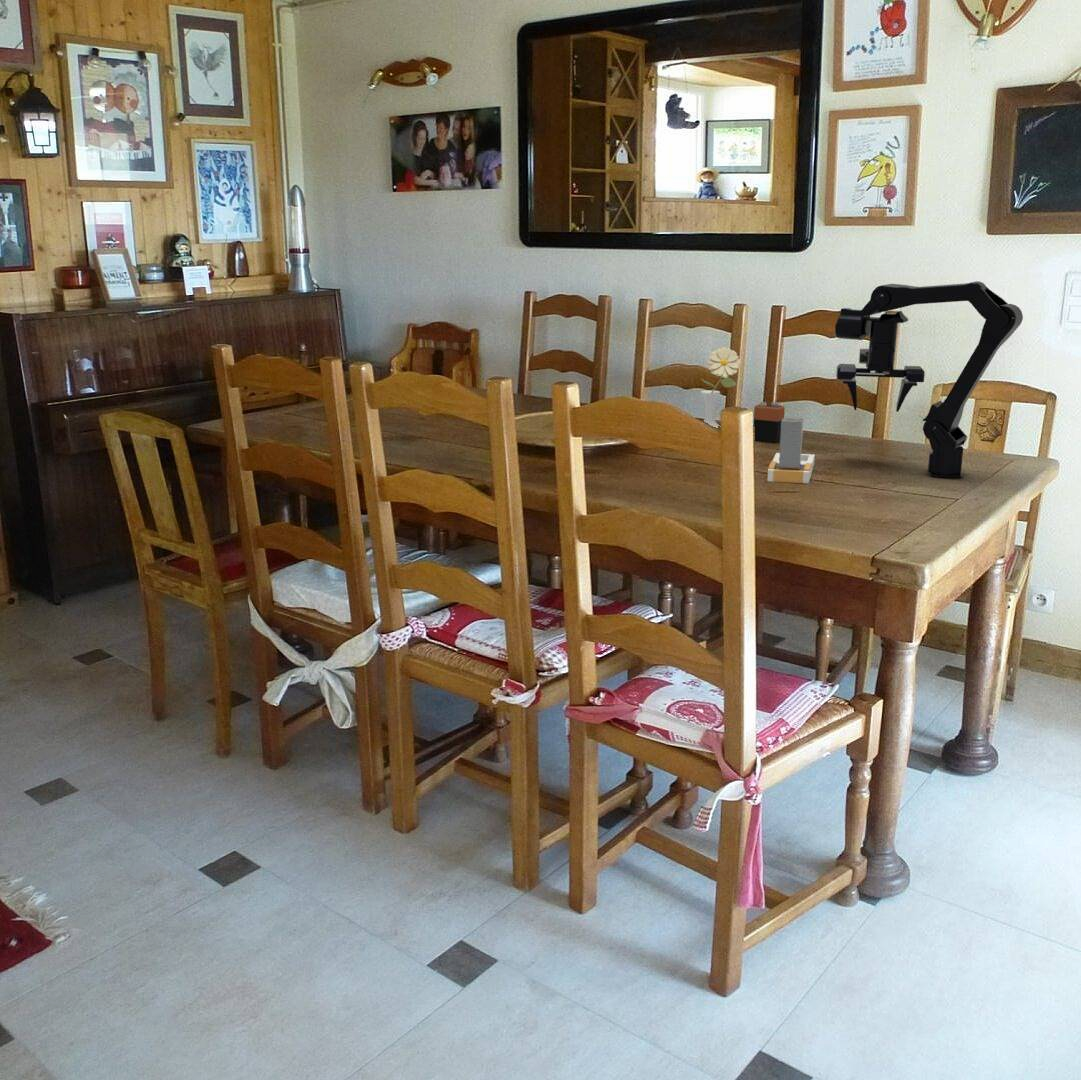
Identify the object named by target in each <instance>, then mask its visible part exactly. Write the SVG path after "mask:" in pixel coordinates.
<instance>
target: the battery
mask: <svg viewBox="0 0 1081 1080" xmlns="http://www.w3.org/2000/svg"><path fill="white" fill-rule="evenodd" d="M785 409H786V407H785V406H784V405H781V404H780V402H775V401H773V402H770V404H767V402H766V401H761V402H760V403H759V404H757V405H755V406H754V408H753V427H754V426H755V442H763V443H771V444H772V443H773V444H776V443H777V444H778V443H780V437H781V421H782V419H783V418H785Z"/></svg>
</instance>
